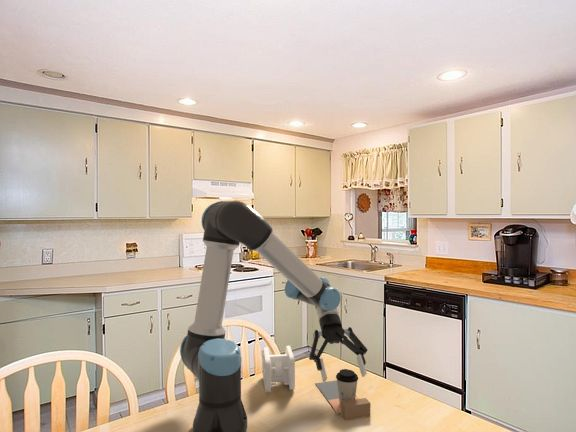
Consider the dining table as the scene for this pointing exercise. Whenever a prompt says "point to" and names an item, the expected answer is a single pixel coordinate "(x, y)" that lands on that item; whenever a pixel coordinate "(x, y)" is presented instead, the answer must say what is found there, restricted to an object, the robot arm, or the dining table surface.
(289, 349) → the cable organizer
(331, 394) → the runner
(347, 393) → the coffee cup
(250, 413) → the dining table surface
